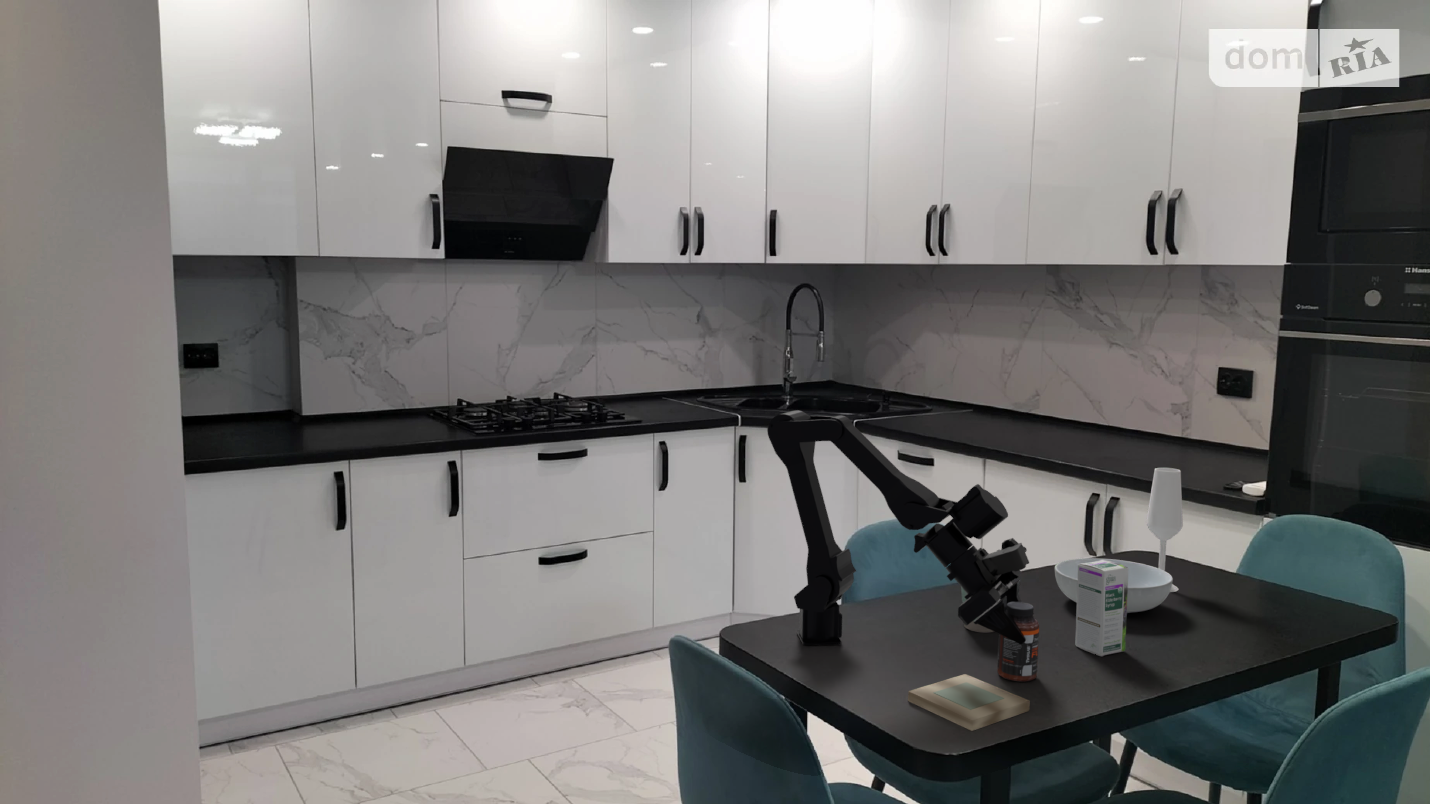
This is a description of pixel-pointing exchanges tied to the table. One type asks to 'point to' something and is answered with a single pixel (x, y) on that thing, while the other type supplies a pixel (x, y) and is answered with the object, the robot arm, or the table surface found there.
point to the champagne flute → (1165, 509)
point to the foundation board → (968, 701)
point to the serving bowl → (1143, 582)
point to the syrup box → (1101, 607)
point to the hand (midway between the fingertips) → (1028, 636)
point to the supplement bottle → (1019, 646)
